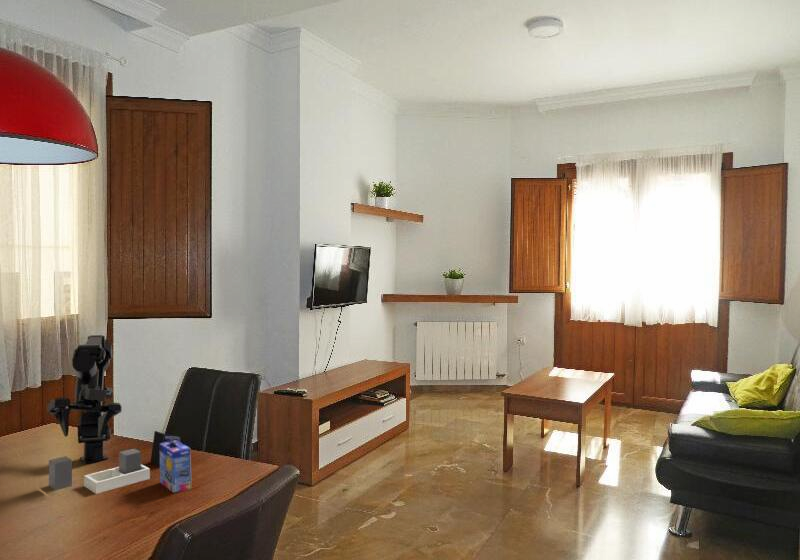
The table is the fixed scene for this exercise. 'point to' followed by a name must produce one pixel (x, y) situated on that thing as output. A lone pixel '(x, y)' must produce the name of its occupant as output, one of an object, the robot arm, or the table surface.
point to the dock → (114, 479)
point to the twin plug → (129, 461)
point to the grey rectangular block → (60, 473)
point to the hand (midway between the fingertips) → (83, 437)
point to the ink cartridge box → (175, 465)
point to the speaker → (157, 440)
